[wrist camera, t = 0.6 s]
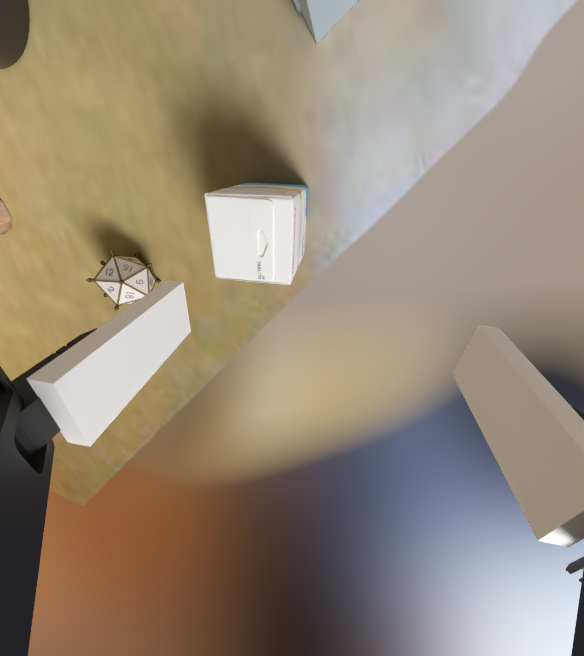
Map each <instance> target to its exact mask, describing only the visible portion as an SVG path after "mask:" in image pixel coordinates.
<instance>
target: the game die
mask: <svg viewBox="0 0 584 656" xmlns="http://www.w3.org/2000/svg"><path fill="white" fill-rule="evenodd" d="M109 253H110V254H111V255H112V256H111V258H110V259H109V260H108V261H107V262H106V263H105V262H103V261H100V262H101V264H102V265H104V266H103V267H102V268H101V270H100V271H99V273H98V274H97V275H96V277H95V278H94V279H92V278H91V279H90V278H89V279H87V280H86V281H88V282H93V281H94V282H95V283H96V284H97V285H98V286H99V287H100V288H101V289H102V290H103V292H104V293H105V294H104V297H107V296H108V297H109V298H110V299H111V300H112V301H113V302H114V303H115V304H116V306H115V308H114V309H115V311H116V310H118V308H119V306H120V305H128V304H134V303H135V302H137V301H138V300H140V299H141V298H142V297H144V296H145V295H147V294H148V293H150V292H151V291H152V289H153V287H154V284H155V282H157V283H159V282H161V281H160V280H159V279H157V280H155V278H154V277H153V275H152V273H151V271H150V270H149V268H150V267H152V264H147V266H146V265H145V264H144V263H143V262H141V261H140V260H139V259H138V258H137V257H138V256H139V255H138V253H136V254H135V257H128V256H118V255H114V251H112V250H110V252H109Z"/></svg>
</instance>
